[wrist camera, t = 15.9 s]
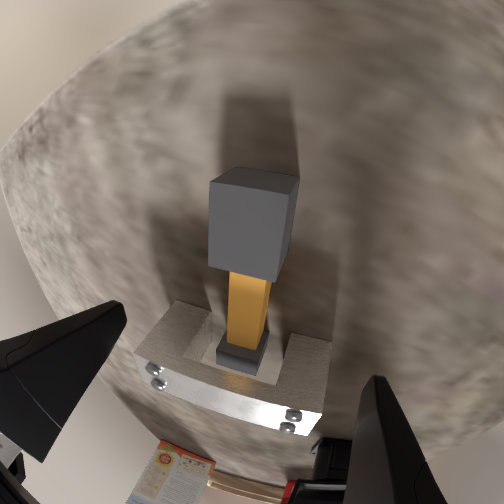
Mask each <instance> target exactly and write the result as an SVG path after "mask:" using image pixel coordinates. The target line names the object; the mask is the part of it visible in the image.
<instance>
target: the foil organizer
mask: <svg viewBox="0 0 504 504" xmlns="http://www.w3.org/2000/svg"><path fill="white" fill-rule="evenodd" d="M207 486H210V487H213V488H216V489H219V490H222V491H225V492H228V493H231V494H235V495H238V496H242V497H246V498H250V499H254V500H258V501H262V502H267V503H271V504H280V503H281V500H282V497H283V494H284V490H285V489H283V488H278V487H273V486H269V485H264V484H260V483H256V482H252V481H248V480H245V479H241V478H237V477H234V476H231V475H228V474H224V473H221V472H218V471H215V470H213V471H212V474H211V476H210V478H209V480H208V483H207Z"/></svg>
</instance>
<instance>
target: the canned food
mask: <svg viewBox="0 0 504 504" xmlns="http://www.w3.org/2000/svg"><path fill="white" fill-rule="evenodd" d="M296 481H298V480H292V481H289V482H288V483H287V484H286V487H285V490H284V494H283V497H282V500H281V503H280V504H286V502H287V500H288V499H289V497H290V495H291V493H292V491H293V489H294V486H295V482H296Z"/></svg>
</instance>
